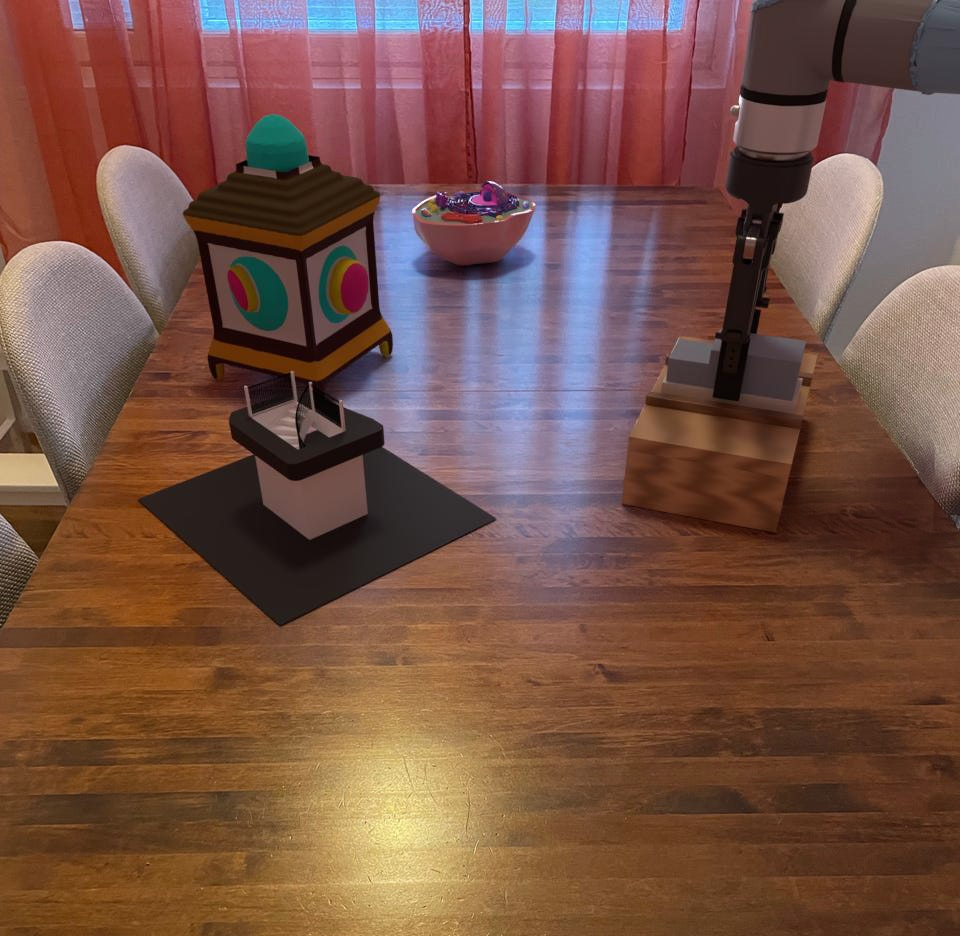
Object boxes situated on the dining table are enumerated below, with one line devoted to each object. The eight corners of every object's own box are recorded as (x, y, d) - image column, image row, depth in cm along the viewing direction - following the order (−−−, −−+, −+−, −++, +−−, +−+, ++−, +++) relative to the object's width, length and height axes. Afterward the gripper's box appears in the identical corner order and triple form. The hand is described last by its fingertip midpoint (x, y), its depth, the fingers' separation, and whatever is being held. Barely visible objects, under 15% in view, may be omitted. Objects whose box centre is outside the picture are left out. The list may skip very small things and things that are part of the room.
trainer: (800, 391, 106) (811, 340, 102) (793, 416, 101) (805, 364, 98) (671, 371, 109) (678, 322, 106) (660, 395, 105) (666, 344, 101)
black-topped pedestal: (496, 519, 101) (498, 400, 93) (280, 626, 88) (258, 500, 79) (340, 421, 117) (329, 313, 109) (137, 500, 104) (106, 383, 95)
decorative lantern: (408, 353, 132) (395, 104, 112) (325, 416, 118) (293, 146, 99) (286, 326, 139) (254, 87, 119) (195, 382, 125) (141, 124, 106)
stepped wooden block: (803, 418, 118) (819, 346, 112) (775, 533, 99) (793, 454, 93) (671, 397, 122) (680, 327, 116) (621, 504, 103) (629, 427, 98)
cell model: (395, 253, 161) (391, 180, 154) (501, 234, 168) (502, 163, 161) (441, 288, 150) (439, 210, 142) (553, 265, 157) (556, 190, 149)
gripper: (747, 120, 98) (712, 340, 113) (713, 174, 84) (678, 418, 98) (825, 126, 96) (779, 350, 111) (803, 183, 82) (754, 430, 96)
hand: (731, 382), depth 105 cm, fingers open, 7 cm apart
